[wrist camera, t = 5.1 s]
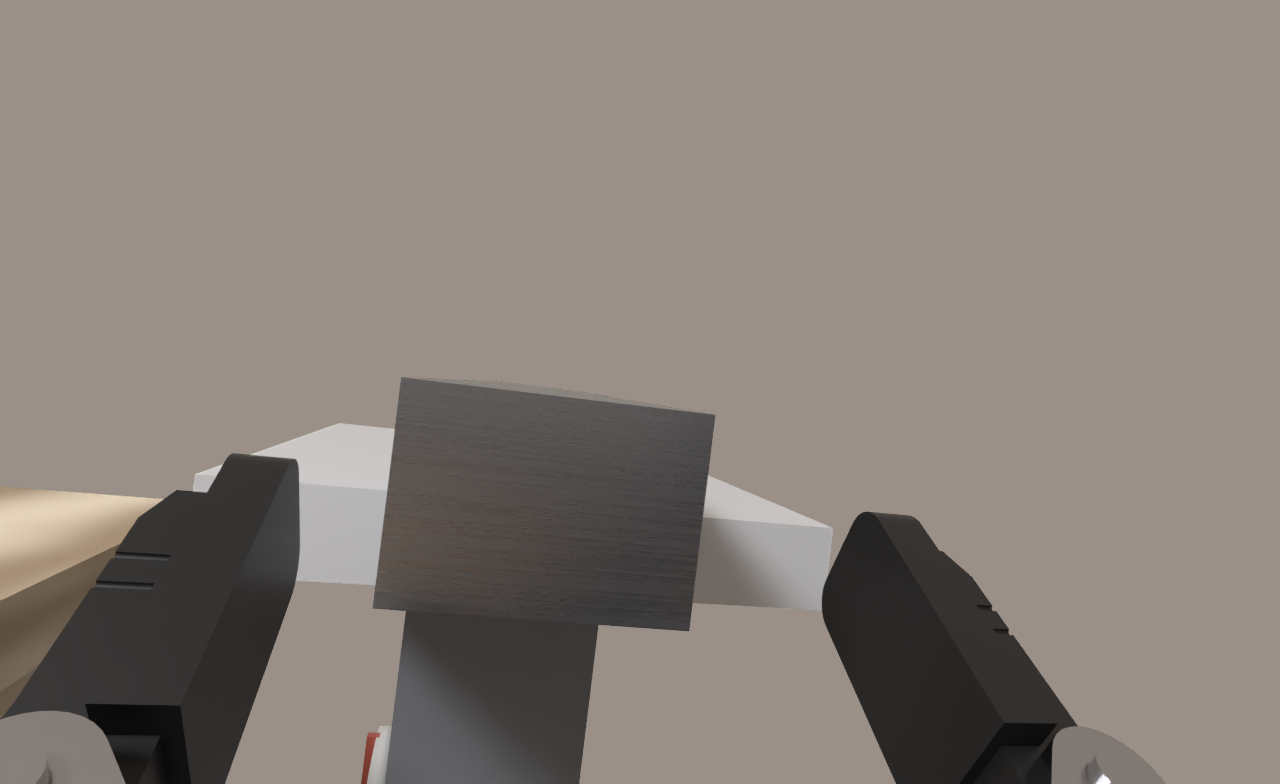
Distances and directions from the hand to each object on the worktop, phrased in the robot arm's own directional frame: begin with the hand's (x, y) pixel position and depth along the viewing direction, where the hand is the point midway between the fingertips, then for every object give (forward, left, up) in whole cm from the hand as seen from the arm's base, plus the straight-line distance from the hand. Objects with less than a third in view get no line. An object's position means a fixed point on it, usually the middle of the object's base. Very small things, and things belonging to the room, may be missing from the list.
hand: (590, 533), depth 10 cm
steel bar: (0, -10, -1) cm, 10 cm away
